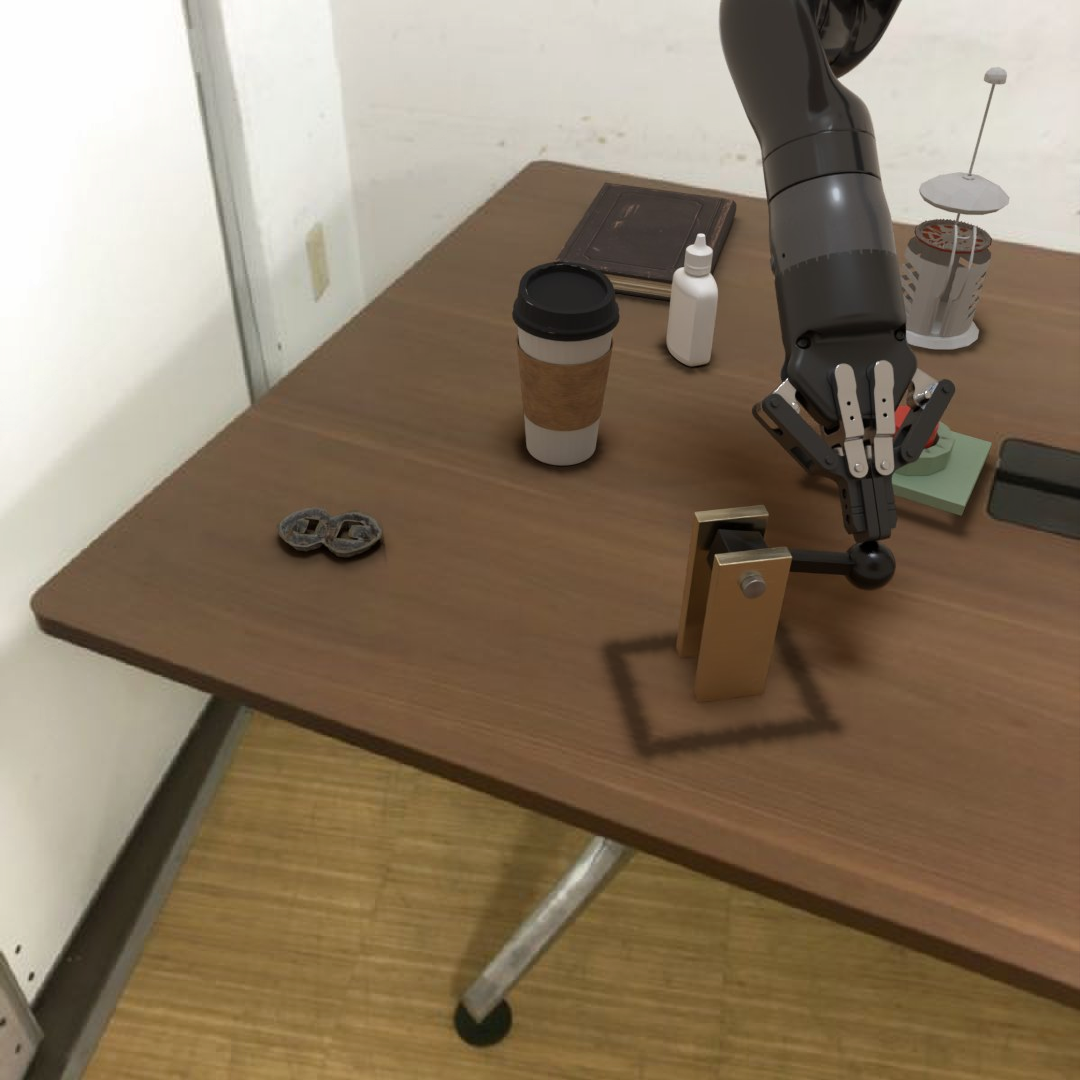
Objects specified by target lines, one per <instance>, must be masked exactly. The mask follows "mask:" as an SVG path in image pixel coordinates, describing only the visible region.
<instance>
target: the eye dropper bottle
mask: <svg viewBox="0 0 1080 1080" xmlns="http://www.w3.org/2000/svg"><path fill="white" fill-rule="evenodd" d="M712 255H713V250H712V249H711V248H710V247H709V246H706V240H705V235H704V234H698V235H697V238H696V241H695V244H694V245H690V246H688V247H687V248H686V254H685V263H684V267H682V268H679V269H677V270H676V271H675V273H674V275H673V281H672V289H671V299H670V301H669V309H668V310H669V311H668V320H667V329H666V339H665V342H666V348H667V350H668V352H669V353H670V355H671V356H672V357H673V358H674V359H675V360H677V361H678V362H680V363H681V364H684V365H685V366H687V367H697V366H702V365H707V364H709V363H710V361H711V357H712V356H711V355H712V348H713V342H714V332H715V326H716V320H717V319H716V318H717V311H718V310H717V309H718V301H719V288H718V285H717V282H716V280H715V278H714V276H713V274H712V275H711V273H710V271H711V263H712Z"/></svg>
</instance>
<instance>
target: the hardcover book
mask: <svg viewBox="0 0 1080 1080" xmlns="http://www.w3.org/2000/svg"><path fill="white" fill-rule="evenodd" d="M736 213H737V202H736V201H735V200H734V199H732V198H724V197H717V196H710V195H702V194H696V193H695V194H694V193H687V192H679V191H672V190H663V189H658V188H649V187H641V186H635V185H628V184H627V185H626V184H621V183H620V184H619V183H612V182H604V183H603V185H602V186H601V188H600V190H599V191H598V192H597V194H596V196H595V197H594V199H593V200H592V201H591V203H590V205H589V206H588V208H587V209H586V211H585V213H584V214H583V215H582V217H581V219H580V220H579V222H578V223H577V225H576V226H575V228H574V229H573V231H572V232H571V233H570V235H569V237H568V238H567V239H566V242H565V243H564V245H563V246H562V247H561V249H560V251H559V252H558V254H557V255H556V256H555V258H554V260H553V262H557V261H563V262H574V263H581V264H585V265H588V266H591V267H594V268H596V269H597V270H599V271H601V272H602V273H603V274H605V275H606V276H607V277H608V279H609V280H610V281H611V283H612V284H613V287H614V291H615V294H621V295H627V296H634V297H640V298H641V297H642V298H648V299H654V300H660V301H667V302H670V299H671V289H672V281H673V275H674V273H675V271H676V270H677V269H679V268H682V267H684V263H685V254H686V248H687V247H688V246H690V245H694V244H695V241H696V238H697V235H698V234H704V235H705V240H706V246H709V247H710V248H711V249H712V250H713V255H712V263H711V271H710V273H711V275H712V276H713V272H714V270H715V267H716V264H717V261H718V259H719V256H720V254H721V252H722V249H723V247H724V244H725V242H726V239H727V237H728V234H729V231H730V229H731V227H732V224H733V221H734V218H735V216H736Z"/></svg>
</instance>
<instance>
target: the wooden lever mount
mask: <svg viewBox="0 0 1080 1080" xmlns="http://www.w3.org/2000/svg"><path fill="white" fill-rule="evenodd" d="M769 515H770V514H769V512H768V511H767V509H766V507H765V505H764V504H757V505H749V506H738V507H730V508H729V507H728V508H719V509H710V510H701V511H700V510H699V511H694V513H693V521H692V527H691V535H690V542H689V549H688V556H687V564H686V570H685V571H686V572H685V579H684V585H683V594H682V601H681V607H680V608H681V609H680V615H679V621H678V631H677V637H676V638H677V639H676V644H675V650H676V652H677V654H678V657H679V659H685V658H694V657H698V659H697V666H696V672H695V679H694V686H693V691H692V692H693V694H694V697H695V699H696V703H706V702H716V701H722V700H728V699H730V700H731V699H737V698H744V697H752V696H753V697H754V696H759V695H760V696H761V695H763V694H764V692H765V687H766V682H767V677H768V672H769V668H770V665H771V664H770V662H771V658H772V655H773V650H774V644H775V641H776V640H775V639H776V635H777V630H778V627H779V621H780V616H781V613H782V612H781V611H782V606H783V602H784V597H785V593H786V588H787V584H788V579H789V575H790V572H789V570H790V565H791V561H792V555H791V554H790V552H789V550H788V549H789V548H788V547H787V546H778V547H772V548H767V549H758V550H749V551H740V552H731V553H722V554H715V556H714V562H713V569H712V571H711V569H710V567H709V565H708V563H707V561H706V558H707V555H708V553H709V550H710V548H711V546H712V543H713V541H714V538H715V536H716V533H717V531H718V529H724V530H738V531H752V532H760V534H761V535H762V537H763V539H764V540H765V537H766V531H767V526H768V521H769Z"/></svg>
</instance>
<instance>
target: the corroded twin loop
mask: <svg viewBox="0 0 1080 1080" xmlns="http://www.w3.org/2000/svg"><path fill="white" fill-rule="evenodd" d="M309 524H315V525H316V524H317V525H316V527H315V530H314V533H312V534H309V533H308V534H307V530H308V525H309ZM343 528H349V530H348V537H350V538H353V539H350V538H341V537H340V538H339V537H337V536H338V535H339V532H340V531H341V530H342V529H343ZM276 529H277V532H278V534H279V535H278V536H279V537H280V538H281V539H282V540H283V541H284V542H285V543H287V544H288V545H289V546H291V547H292V548H293V549H294V550H296V551H301V552H302V551H303V552H309V551H314V550H316V549H317V550H318V549H319V548H321V547H323V545H324V546H325V547H327V549H328V550H329V551H330V553H333V554H335V556H337V557H339V558H346V559H347V558H350V557H354V556H358V555H360V554H363V553H365V552H367V551H369V550H370V549H371V548H372V546H376V544H377V543H378V540H380V539H381V538H382V535H383V529H382V526H381V524H380V523H379V522H378V521H377V520H376V519H375V518H374V517H373V516H371V514H369V513H367V512H366V513H365V512H363V511H360V510H355V509H354V510H349V511H345V512H342V513H339V514H337V515H334V516H332V515H331V513H329V512H328V510H326V508H323V507H317V506H316V507H315V506H310V507H307V508H302V509H299V510H296V511H292V512H291V513H289V514H288V515H286V516H284V517H283V518H282V519H280V520H278V523H277V524H276Z"/></svg>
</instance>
